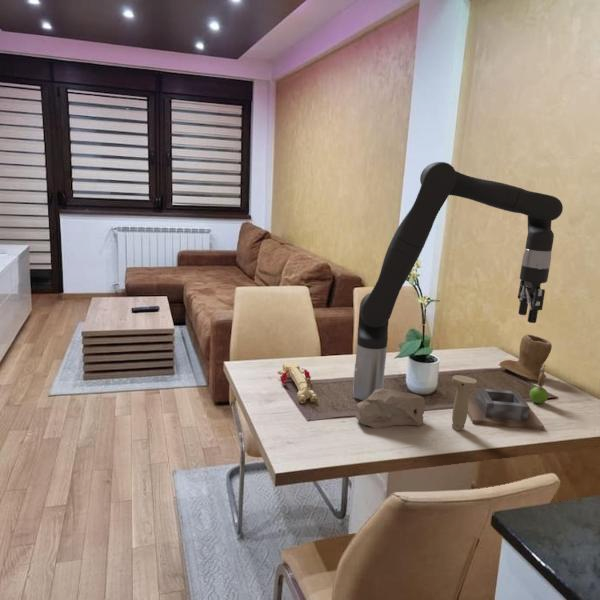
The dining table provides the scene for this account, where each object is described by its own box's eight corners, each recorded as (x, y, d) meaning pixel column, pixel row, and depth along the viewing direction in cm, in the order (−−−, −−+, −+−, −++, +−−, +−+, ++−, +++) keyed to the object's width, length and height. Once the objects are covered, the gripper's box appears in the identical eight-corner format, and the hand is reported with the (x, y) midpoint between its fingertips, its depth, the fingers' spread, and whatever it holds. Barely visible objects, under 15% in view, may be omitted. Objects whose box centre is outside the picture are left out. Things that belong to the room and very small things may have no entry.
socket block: (472, 423, 151) (475, 405, 150) (461, 400, 167) (463, 383, 165) (543, 430, 150) (546, 411, 148) (525, 406, 165) (528, 389, 164)
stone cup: (553, 380, 189) (560, 340, 185) (530, 384, 183) (538, 344, 180) (519, 365, 202) (525, 328, 198) (497, 369, 196) (503, 331, 193)
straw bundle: (323, 406, 160) (301, 369, 183) (326, 380, 158) (303, 346, 181) (292, 408, 158) (273, 371, 181) (294, 382, 155) (275, 348, 178)
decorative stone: (417, 415, 155) (421, 384, 152) (428, 427, 148) (432, 395, 145) (352, 418, 151) (355, 386, 148) (360, 430, 144) (363, 397, 141)
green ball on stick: (546, 400, 170) (552, 366, 168) (546, 407, 165) (552, 372, 162) (528, 396, 173) (534, 362, 170) (527, 403, 167) (533, 368, 164)
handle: (467, 435, 144) (475, 384, 141) (444, 428, 147) (451, 379, 144) (470, 428, 148) (478, 379, 145) (448, 422, 151) (454, 373, 148)
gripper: (514, 260, 159) (506, 311, 163) (530, 268, 145) (521, 324, 149) (540, 262, 159) (531, 313, 162) (558, 270, 145) (548, 326, 149)
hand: (526, 318), depth 156 cm, fingers open, 8 cm apart
